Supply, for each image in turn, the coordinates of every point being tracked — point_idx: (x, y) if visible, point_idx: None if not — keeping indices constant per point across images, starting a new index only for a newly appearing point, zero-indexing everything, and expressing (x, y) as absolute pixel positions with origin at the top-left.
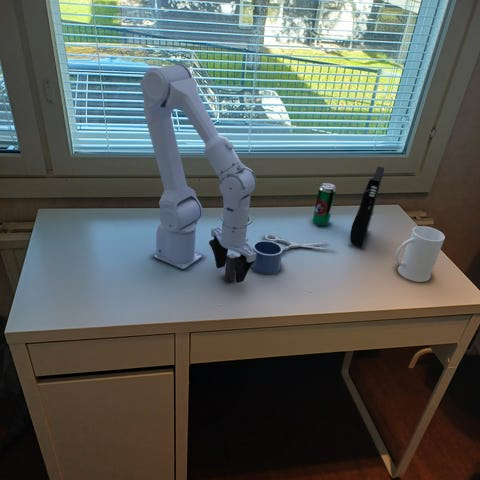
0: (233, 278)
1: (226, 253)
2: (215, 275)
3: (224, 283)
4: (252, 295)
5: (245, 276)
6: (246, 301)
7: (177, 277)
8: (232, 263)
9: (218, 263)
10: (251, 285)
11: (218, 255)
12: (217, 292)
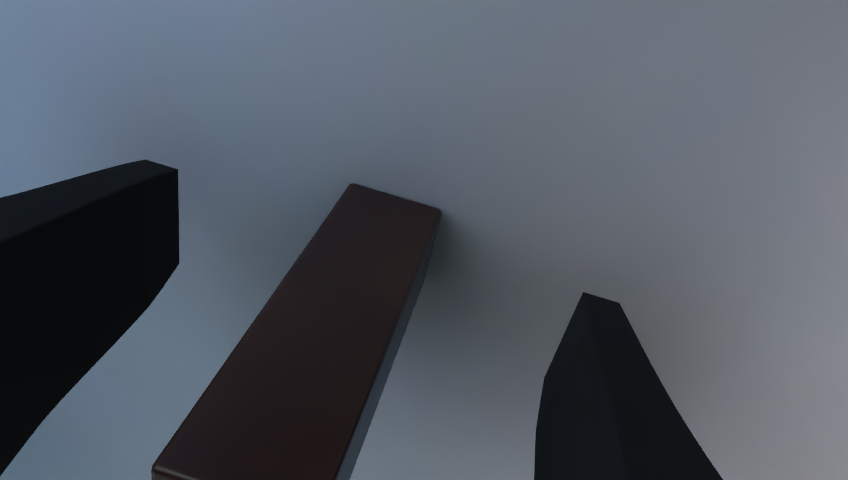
0: (432, 239)
1: (3, 256)
2: (233, 267)
3: (410, 332)
4: (835, 351)
5: (643, 352)
6: (813, 464)
7: (96, 455)
8: (348, 473)
9: (130, 309)
10: (713, 176)
11: (26, 407)
12: (467, 471)
